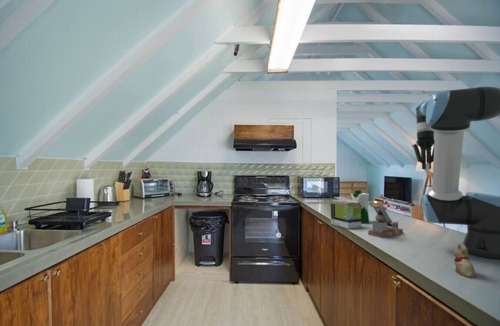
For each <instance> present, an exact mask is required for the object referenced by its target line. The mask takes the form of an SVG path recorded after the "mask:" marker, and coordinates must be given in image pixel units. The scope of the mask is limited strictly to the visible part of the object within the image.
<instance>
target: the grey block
mask: <svg viewBox="0 0 500 326" xmlns="http://www.w3.org/2000/svg"><path fill="white" fill-rule="evenodd" d="M372 230H373V231H374V232H380V233H385V232H387V222H385V221H381V222H379V221H377V220H376V219H375V220H373V221H372Z"/></svg>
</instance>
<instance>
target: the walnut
mask: <svg viewBox="0 0 500 326" xmlns="http://www.w3.org/2000/svg"><path fill="white" fill-rule="evenodd" d="M374 219H375V221H376V220H377V221H379V222H381V221H383V216H382V215H380V214H376V215H375V218H374Z"/></svg>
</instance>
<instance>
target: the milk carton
mask: <svg viewBox="0 0 500 326" xmlns="http://www.w3.org/2000/svg"><path fill="white" fill-rule="evenodd" d="M350 196H351V201H357V202H360V203H361V225H362V224H367V223H368V224H369V223H370V218H369V217H370V215H369V196H370V193H363V192H362V190H360V189H356V190H355V189H354V190H353V193H350Z"/></svg>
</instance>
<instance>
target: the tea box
mask: <svg viewBox="0 0 500 326" xmlns="http://www.w3.org/2000/svg"><path fill="white" fill-rule="evenodd" d="M330 224H331V225H333V226H338V227H341V228H344V229H347V230H350V229H359V228H362V224H361V203H360V202H357V201H352V200H349V199H348V200H347V199H333V200H330Z"/></svg>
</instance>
